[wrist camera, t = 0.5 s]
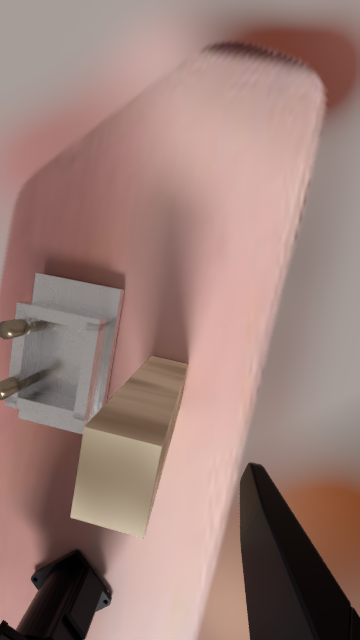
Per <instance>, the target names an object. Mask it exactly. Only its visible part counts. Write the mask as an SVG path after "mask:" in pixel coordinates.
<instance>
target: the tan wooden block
mask: <svg viewBox="0 0 360 640" xmlns="http://www.w3.org/2000/svg"><path fill="white" fill-rule="evenodd" d="M187 369H188V364H186V363H182V362H177V361H173V360H168V359H164V358H159V357H154V356H150V357H149V359H148V360H147V361H146V362H145V363H144V364H143V365H142V366H141V367H140V368H139V369H138V370H137V371H136V372H135V373H134V374H133V375H132V377H131V378H130V379H129V380H128V381H127V382H126V383H125V384H124V385H123V386H122V387H121V388H120V389H119V390H118V391H117V392H116V394H115V395H114V396H113V397H112V398H111V399H110V400H109V401H108V402H107V403H106V404H105V405H104V406H103V407H102V408H101V409H100V411H99V412H98V413H97V414H96V415H95V416H94V417H93V418H92V419H91V420H90V421H89V422H88V423H87V424H86V425H85V426H84V431H83V438H82V444H81V451H80V457H79V464H78V470H77V477H76V483H75V490H74V496H73V503H72V509H71V516H70V518H74V519H77V520H81V521H84V522H87V523H91V524H94V525H98V526H101V527H105V528H108V529H112V530H115V531H119V532H122V533H126V534H129V535H132V536H136V537H139V538H143V539H144V536H145V532H146V529H147V525H148V522H149V518H150V514H151V511H152V507H153V503H154V500H155V496H156V493H157V489H158V485H159V482H160V478H161V474H162V471H163V467H164V463H165V460H166V456H167V453H168V449H169V445H170V442H171V438H172V434H173V431H174V427H175V424H176V420H177V416H178V413H179V409H180V404H181V399H182V394H183V389H184V384H185V379H186V374H187Z"/></svg>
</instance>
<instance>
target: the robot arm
mask: <svg viewBox="0 0 360 640" xmlns="http://www.w3.org/2000/svg"><path fill="white" fill-rule="evenodd" d="M240 541H241V553H242V563H243V573H244V583H245V593H246V603H247V613H248V622H249V631H250V640H360V617H359V615H358V614H357V612H356V611H355V609H354V608H353V607H352V606H351V604H350V601H349V600H348V598H347V597H346V595H345V594H344V592H343V590H342V589H341V587H340V586H339V584H338V583H337V581H336V579H335V578H334V576H333V575H332V573H331V572H330V570H329V569H328V567H327V565H326V564H325V562H324V561H323V559H322V558H321V556H320V555H319V553H318V551H317V550H316V548H315V547H314V545H313V544H312V542H311V540H310V539H309V537H308V536H307V534H306V533H305V531H304V529H303V528H302V526H301V525H300V523H299V522H298V520H297V519H296V517H295V515H294V514H293V512H292V511H291V509H290V508H289V506H288V504H287V503H286V501H285V500H284V498H283V497H282V495H281V493H280V492H279V490H278V489H277V487H276V486H275V484H274V482H273V481H272V479H271V478H270V476H269V475H268V473H267V472H266V470H265V468H264V467H263V466H262V465H260V464H256V463H252V462H251V463H248V465H247V467H246V469H245V471H244V473H243V475H242V477H241V480H240ZM31 580H32V582H33V584H34V585H35V586H36V588H37V589H38V592H37V594H36V596H35V597H34V599H33V601H32V602H31V604H30V606H29V608H28V609H27V611H26V613H25V615H24V616H23V618H22V620H21V621H20V623H19V625H18V627H17V628H16V630H15V629H13V628H12V627H10V626H9V625H8V623H7V622H6V621H4V620H3V621H2V623H1V624H0V640H84V639H85V638H86V636H87V633H88V631H89V628H90V625H91V622H92V620H93V617H94V614H95V612H96V611H98V610H101V609H103V608H105V607H107V606H109V605H110V602H111V599H112V597H111V595H110V594H109V592H108V591H107V590H106V588H105V587H104V585H103V584H102V582H101V581H100V579H99V578H98V577H97V575H96V574H95V572H94V571H93V569H92V568H91V567H90V565H89V564H88V562H87V561H86V559H85V558H84V557H83V555H82V554H81V552H80V551H78V550H75V551H73V552H71V553H69V554H67V555H66V556H64V557H62V558H60V559H58V560H56V561H54V562H53V563H51V564H49V565H47V566H45V567H43V568H41V569H40V570H38V571H36V572H35V573H34V574H33V575H32V577H31Z"/></svg>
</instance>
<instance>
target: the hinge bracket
mask: <svg viewBox="0 0 360 640" xmlns="http://www.w3.org/2000/svg"><path fill="white" fill-rule="evenodd" d="M124 291H125V290H123V289H118V288H113V287H108V286H103V285H98V284H93V283H88V282H83V281H78V280H73V279H68V278H63V277H58V276H53V275H48V274H43V273H35V282H34V290H33V299H32V302H17V307H16V315H15V320H9V321H3V322H1V323H0V336H1V337H2V338H3V339H11V338H13V342H12V351H11V360H10V369H9V378H8V379H5V380H3V381H1V382H0V400H4V399H5V398H6V405H5V406H8V407H12V408H16V409H19V416H18V418H20V419H24V420H28V421H32V422H36V423H40V424H43V425H47V426H51V427H55V428H59V429H63V430H67V431H71V432H75V433H79V434H82V435H83V431H84V426H85V425H86V424H87V423H88V422H89V421H90V420H91V419H92V418H93V417H94V416H95V415H96V414H97V413H98V412H99V411H100V409H101V408H102V407H103V406H104V405H105V404H106V402H107V395H108V389H109V383H110V377H111V371H112V365H113V359H114V352H115V346H116V340H117V334H118V328H119V322H120V316H121V310H122V303H123V297H124Z"/></svg>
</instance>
